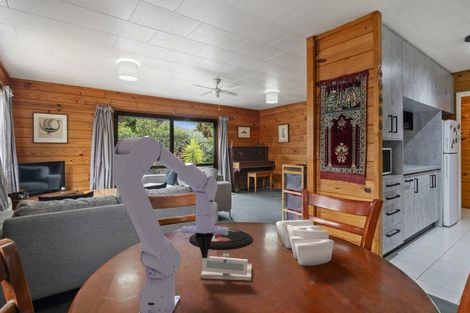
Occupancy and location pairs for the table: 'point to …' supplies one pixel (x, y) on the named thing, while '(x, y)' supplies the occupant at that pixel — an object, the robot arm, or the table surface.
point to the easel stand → (227, 276)
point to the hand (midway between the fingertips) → (205, 256)
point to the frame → (225, 265)
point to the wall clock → (227, 240)
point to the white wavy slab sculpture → (306, 241)
